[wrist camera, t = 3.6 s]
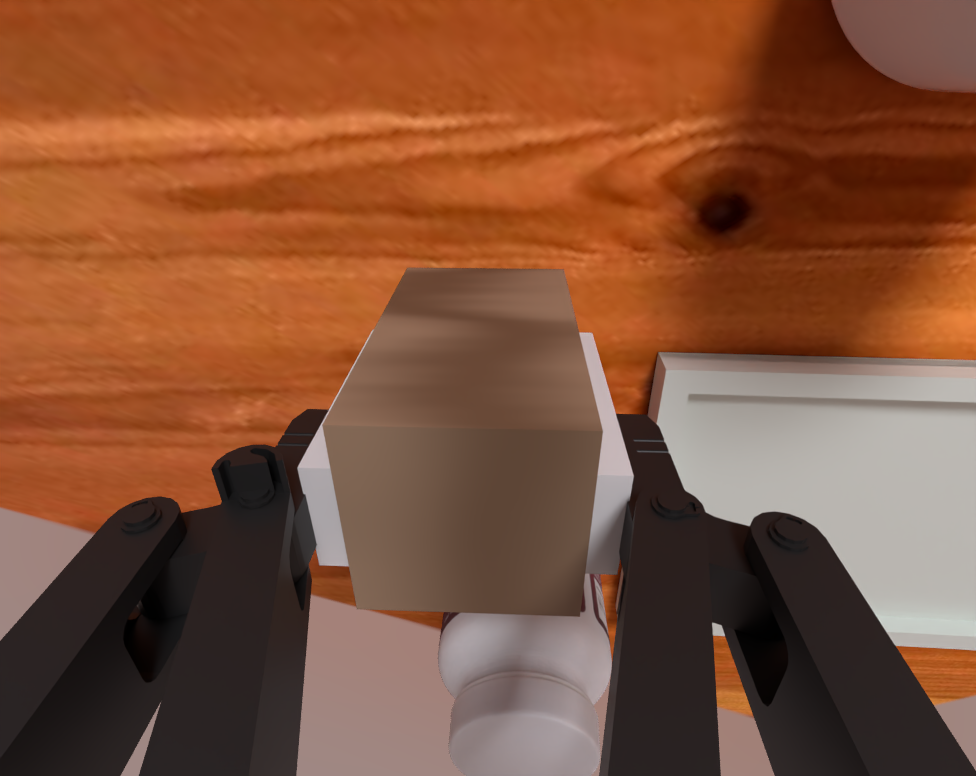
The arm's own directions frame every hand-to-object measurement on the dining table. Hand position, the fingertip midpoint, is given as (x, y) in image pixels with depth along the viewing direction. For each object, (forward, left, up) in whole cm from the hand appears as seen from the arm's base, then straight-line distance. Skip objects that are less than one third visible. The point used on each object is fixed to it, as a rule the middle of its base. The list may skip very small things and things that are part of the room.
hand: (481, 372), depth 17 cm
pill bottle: (+2, -10, -5) cm, 12 cm away
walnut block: (0, 0, -2) cm, 2 cm away
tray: (+17, -9, -5) cm, 20 cm away
